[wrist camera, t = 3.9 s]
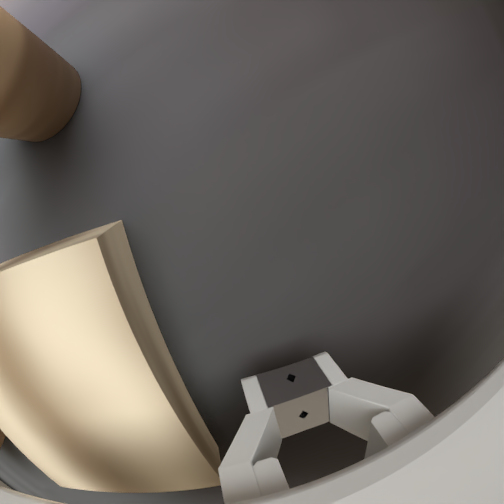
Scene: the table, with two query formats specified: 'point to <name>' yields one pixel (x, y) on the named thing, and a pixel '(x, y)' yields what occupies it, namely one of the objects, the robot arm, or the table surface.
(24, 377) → the board
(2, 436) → the wooden block
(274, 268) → the table surface
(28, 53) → the dowel
